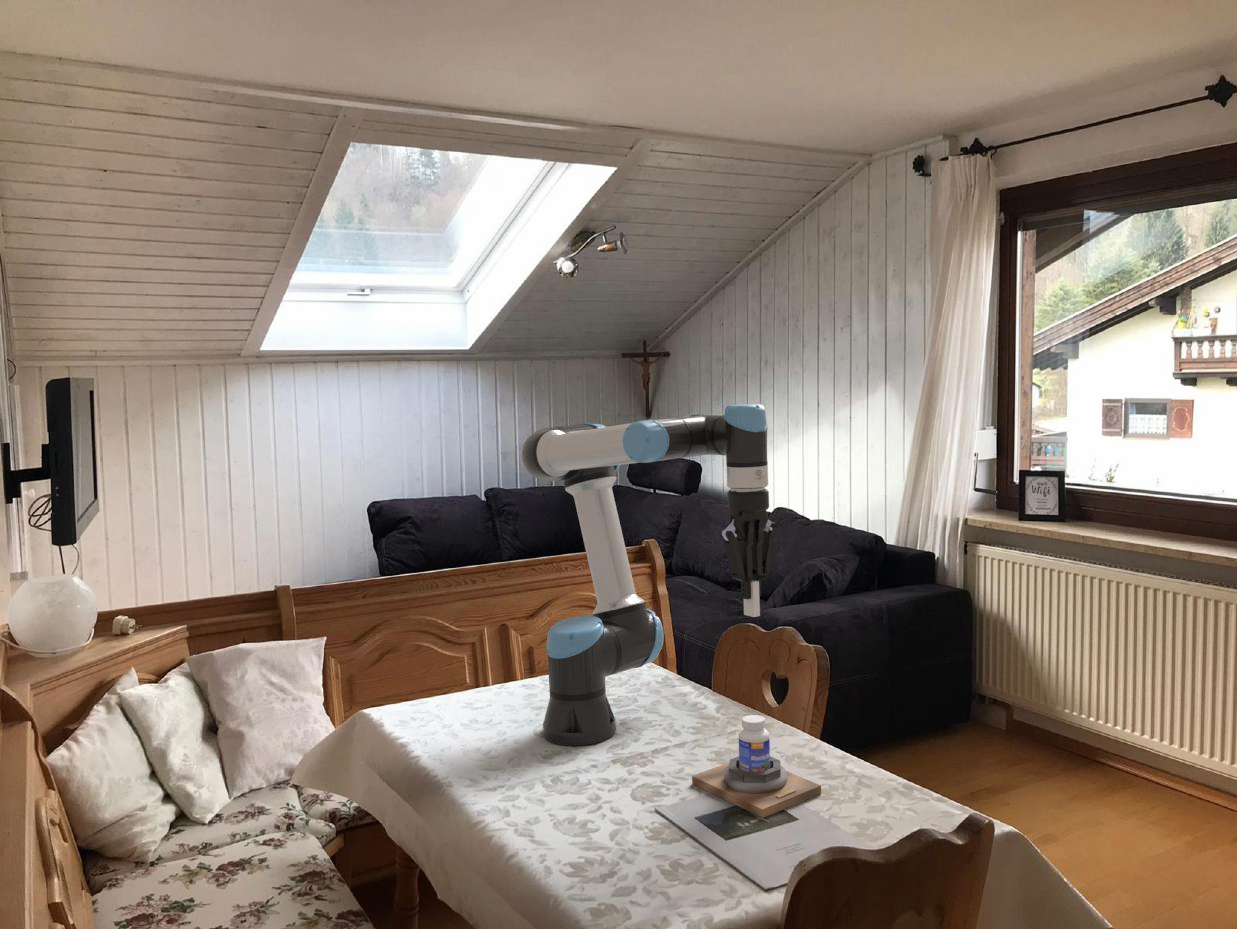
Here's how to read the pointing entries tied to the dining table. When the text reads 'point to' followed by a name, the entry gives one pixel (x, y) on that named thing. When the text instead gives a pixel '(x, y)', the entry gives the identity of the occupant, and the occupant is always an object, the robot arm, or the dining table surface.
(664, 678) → the dining table surface
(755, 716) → the pill bottle
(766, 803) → the hub board
